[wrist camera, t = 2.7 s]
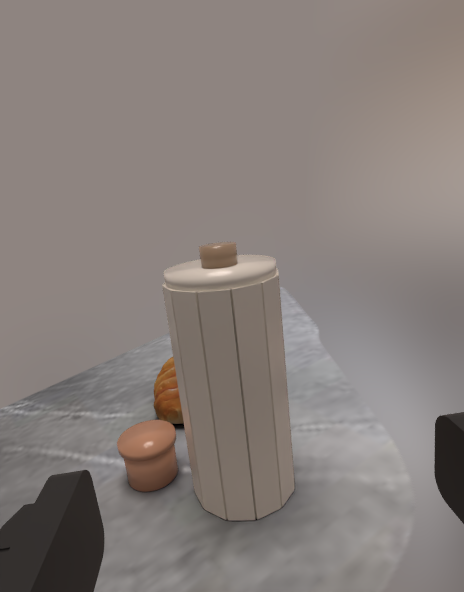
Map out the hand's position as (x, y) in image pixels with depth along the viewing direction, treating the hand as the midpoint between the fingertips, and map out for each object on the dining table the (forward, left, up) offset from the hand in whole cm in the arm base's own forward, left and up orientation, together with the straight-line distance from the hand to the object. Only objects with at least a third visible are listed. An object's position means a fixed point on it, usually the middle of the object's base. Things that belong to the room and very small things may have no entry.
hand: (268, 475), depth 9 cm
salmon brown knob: (-1, +14, -10) cm, 17 cm away
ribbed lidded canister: (+4, +11, -10) cm, 15 cm away
